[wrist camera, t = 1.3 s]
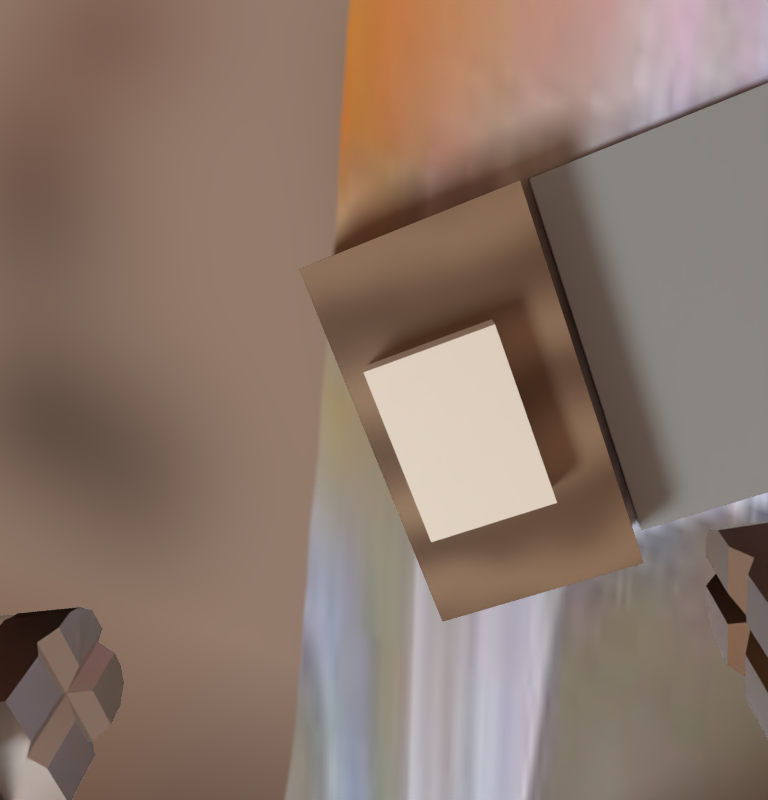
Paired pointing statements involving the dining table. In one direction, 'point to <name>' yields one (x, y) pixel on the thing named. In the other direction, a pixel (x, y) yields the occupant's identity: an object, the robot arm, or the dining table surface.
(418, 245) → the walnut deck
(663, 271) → the grey mat
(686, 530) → the dining table surface
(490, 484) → the cream flat block
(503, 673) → the dining table surface
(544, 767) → the dining table surface
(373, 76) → the dining table surface
